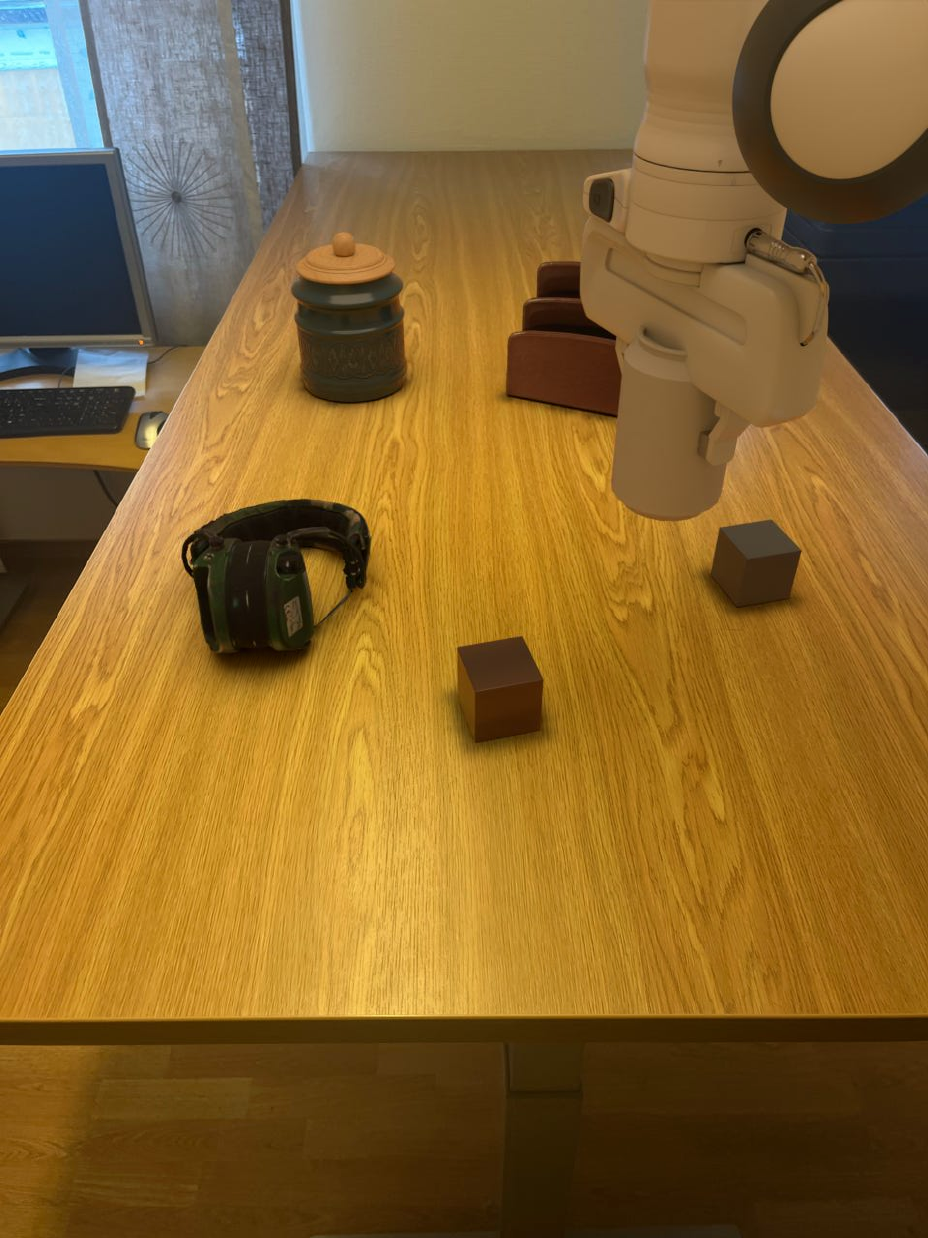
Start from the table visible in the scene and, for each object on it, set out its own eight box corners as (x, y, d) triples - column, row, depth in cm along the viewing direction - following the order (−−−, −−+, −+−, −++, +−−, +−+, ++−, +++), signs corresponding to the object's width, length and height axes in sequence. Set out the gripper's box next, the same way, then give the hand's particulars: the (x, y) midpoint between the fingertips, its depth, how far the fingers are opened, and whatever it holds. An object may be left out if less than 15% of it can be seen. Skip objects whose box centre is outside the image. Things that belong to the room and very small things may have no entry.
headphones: (389, 615, 70) (389, 511, 88) (244, 503, 65) (275, 415, 82) (276, 726, 74) (298, 605, 92) (132, 629, 69) (183, 520, 87)
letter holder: (535, 365, 120) (540, 251, 111) (689, 393, 113) (707, 274, 105) (504, 396, 113) (507, 277, 104) (666, 427, 106) (684, 303, 97)
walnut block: (540, 730, 69) (544, 679, 66) (474, 743, 68) (474, 691, 65) (520, 685, 73) (522, 635, 70) (457, 697, 72) (456, 646, 69)
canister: (330, 354, 123) (316, 212, 112) (423, 367, 119) (418, 222, 108) (283, 395, 113) (263, 244, 102) (382, 411, 110) (372, 256, 99)
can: (603, 520, 63) (620, 348, 56) (615, 466, 69) (632, 304, 62) (717, 534, 62) (750, 359, 54) (720, 478, 68) (751, 313, 60)
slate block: (789, 598, 81) (802, 550, 78) (736, 607, 80) (747, 559, 77) (760, 566, 85) (771, 518, 82) (710, 574, 84) (719, 527, 81)
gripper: (882, 253, 47) (819, 492, 56) (652, 164, 62) (630, 365, 70) (782, 271, 45) (732, 517, 54) (569, 175, 60) (556, 380, 68)
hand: (673, 429), depth 62 cm, fingers closed on can, 7 cm apart
